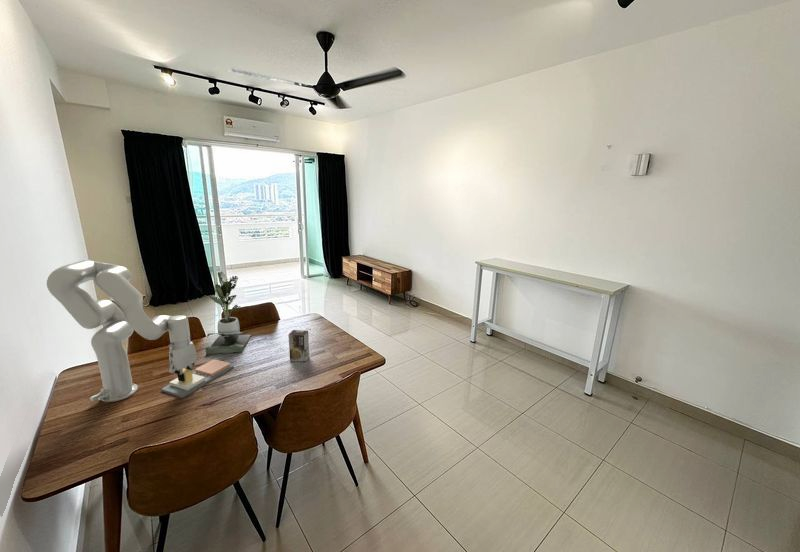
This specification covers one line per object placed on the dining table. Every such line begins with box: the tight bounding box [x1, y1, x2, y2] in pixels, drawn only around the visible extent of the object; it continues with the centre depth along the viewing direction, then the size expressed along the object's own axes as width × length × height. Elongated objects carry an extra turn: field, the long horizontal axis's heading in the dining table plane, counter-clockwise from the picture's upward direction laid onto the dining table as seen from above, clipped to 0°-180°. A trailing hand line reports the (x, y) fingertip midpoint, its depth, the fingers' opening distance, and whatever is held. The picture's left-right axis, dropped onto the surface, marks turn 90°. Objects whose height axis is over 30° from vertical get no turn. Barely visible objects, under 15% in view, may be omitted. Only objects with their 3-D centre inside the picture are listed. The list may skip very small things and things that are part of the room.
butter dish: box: [169, 367, 205, 391], centre depth 147 cm, size 9×11×7 cm
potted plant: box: [205, 271, 252, 355], centre depth 184 cm, size 22×19×45 cm
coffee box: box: [287, 329, 310, 362], centre depth 175 cm, size 9×6×16 cm
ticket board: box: [160, 358, 234, 399], centre depth 154 cm, size 28×13×3 cm, turn 161°
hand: (185, 378), depth 147 cm, fingers closed on butter dish, 3 cm apart
